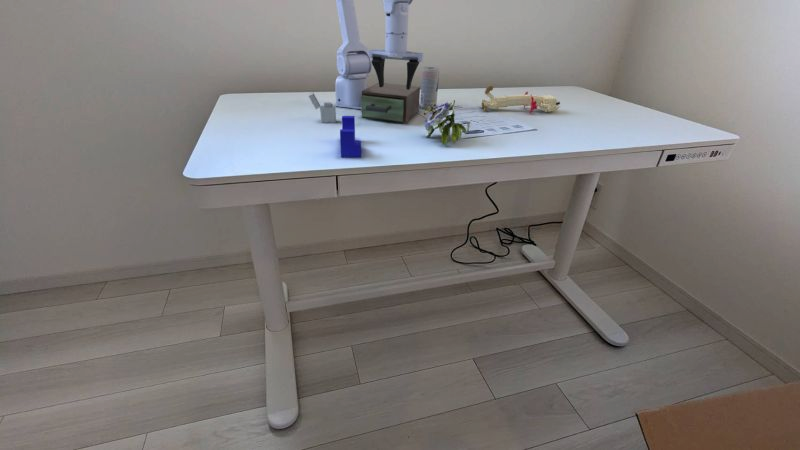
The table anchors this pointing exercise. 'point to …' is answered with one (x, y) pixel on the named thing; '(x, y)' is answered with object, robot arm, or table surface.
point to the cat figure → (520, 101)
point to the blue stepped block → (349, 138)
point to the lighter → (324, 110)
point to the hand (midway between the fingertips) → (394, 87)
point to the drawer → (382, 107)
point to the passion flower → (440, 118)
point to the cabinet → (400, 92)
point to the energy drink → (429, 86)
